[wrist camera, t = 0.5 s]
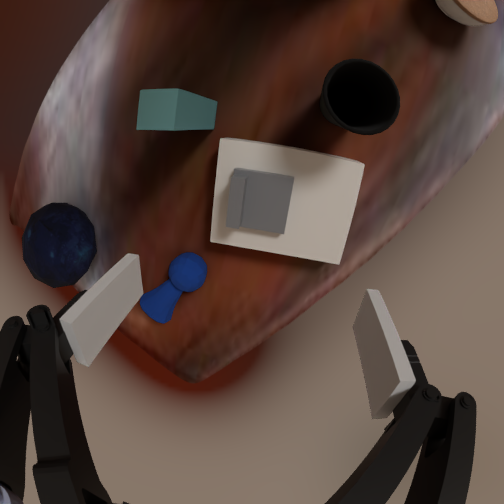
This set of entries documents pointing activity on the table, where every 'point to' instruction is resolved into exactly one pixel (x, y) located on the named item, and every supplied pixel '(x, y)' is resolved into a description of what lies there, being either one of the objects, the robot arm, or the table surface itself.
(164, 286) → the toy
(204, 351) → the table surface
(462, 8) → the lidded jar
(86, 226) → the decorative orb
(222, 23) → the table surface
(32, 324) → the robot arm
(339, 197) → the socket box
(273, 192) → the plate
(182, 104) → the plug
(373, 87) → the cup
